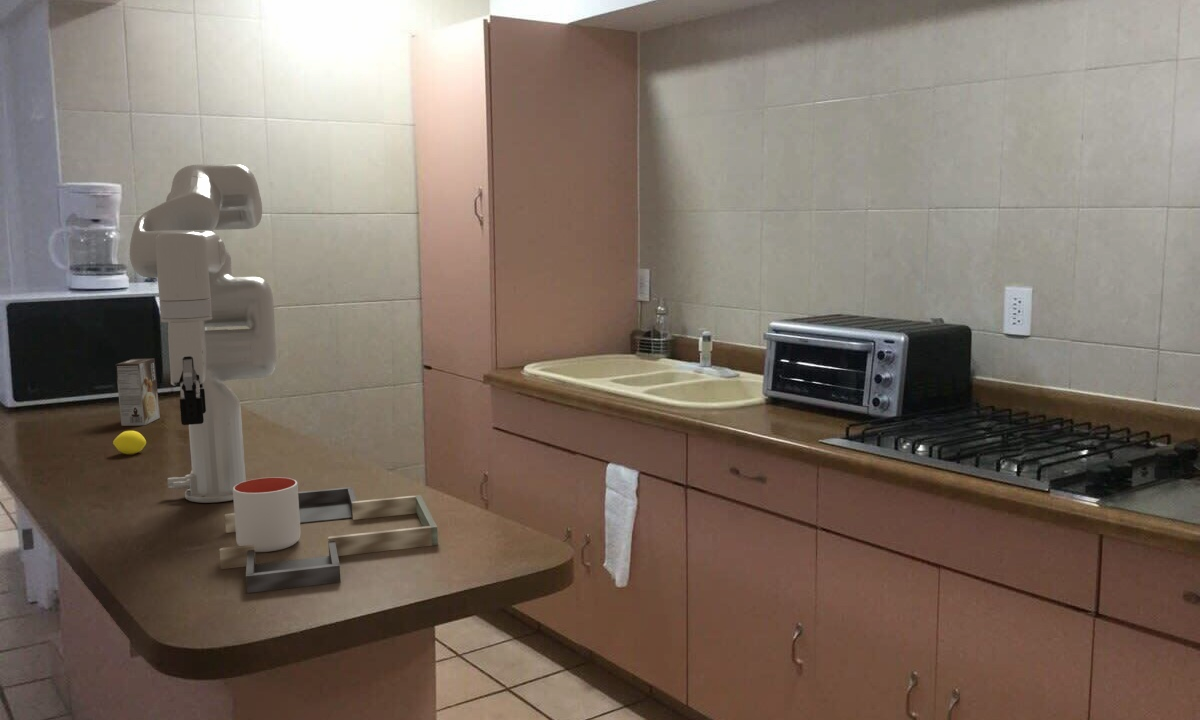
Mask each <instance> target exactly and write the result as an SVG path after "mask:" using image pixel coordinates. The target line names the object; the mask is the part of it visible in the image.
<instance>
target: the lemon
mask: <svg viewBox="0 0 1200 720" xmlns="http://www.w3.org/2000/svg"><path fill="white" fill-rule="evenodd" d="M112 444H113V446H114V447H115V448H116V450H118V452H120V453H122V454H124V455H135V454H138V453H141V451H142V450H143V449H144V448H145V446H146V444H147V440H146V439H145V437H144V436H143V434H141V433H140V432H139V431H136V430H125V431H123V432H121V433H120V434H119V435H117V436H116V437H115V438H114V440H113V441H112Z"/></svg>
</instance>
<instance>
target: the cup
mask: <svg viewBox="0 0 1200 720" xmlns="http://www.w3.org/2000/svg"><path fill="white" fill-rule="evenodd" d="M298 483H299V482H298V481H297V480H296V479H293V478H290V477H280V476H278V477H277V476H275V477H274V476H273V477H261V478H254V479H250V480H246V481H245V482H242V483H239V484H237V485H235V486H234V487H233V500H232V501H233V513H234V515H235V528H236V532H235V539H236V544H237V546H245V545H254V547H255V553H267V552H277V551H281V550H285V549H287V548H289V547H292V546H294V545H295V544H296V543H297V542H298V541H299V539H300V537H301V534H302V533H301V524H300V515H299V499H298V492H299V486H298V485H299V484H298Z"/></svg>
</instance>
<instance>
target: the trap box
mask: <svg viewBox="0 0 1200 720" xmlns="http://www.w3.org/2000/svg"><path fill="white" fill-rule="evenodd" d="M298 499H299V515H300V525H301V524H308V523H310V524H311V523H318V522H319V523H321V522H330V521H338V520H339V521H340V520H348V519H349V520H351V519H352V520H353V521H355V520H365V519H374V518H383V517H385V518H386V517H393V516H403V515H412V514H415V515H417V517H418V520H419V522H420V523H421V526H414V527H408V528H405V527H404V528H398V529H397V528H396V529H387V530H380V531H379V530H378V531H377V530H376V531H368V532H361V533H350V534H343V535H340V534H339V535H331V536H330V535H329V536H327V541H328V543H327V544H328V555H327V556H326V555H324V556H316V557H315V556H314V557H308V558H307V557H306V558H298V559H290V560H282V561H281V560H280V561H272V562H271V561H270V562H263V563H257V562H256V552H255V547H254V545H245V546H239V545H237V546H236V545H235V546H227V547H220V548H219V561H220V562H219V563H220V570H226V569H235V568H243V567H246V569H245V584H246V594H250V593H260V592H268V591H276V590H284V589H293V588H301V587H311V586H318V585H326V584H335V583H336V584H337V583H341V565H340V561H339V560H340V559H339V557H341V556H352V555H360V554H367V553H368V554H369V553H376V552H377V553H378V552H384V551H385V552H387V551H396V550H405V549H414V548H422V547H431V546H438V545H439V539H438V537H439V534H438V525H437V524H436V522H435V520H434V518H433V516H432V514H431V512H430V510H429V508H428V506H427V504H426V503H425V500H424V499H423V497H422V495H421V494H417V495H406V496H398V497H397V496H396V497H386V498H385V497H384V498H376V499H366V500H358V499H357V496H356V493H355V489H354V487H353V486H348V487H338V488H337V487H336V488H325V489H316V490H305V491H304V490H303V491H298ZM224 522H225V524H224V525H225V533H226V534H227V533H236V528H235V515H234V512H231V513H225V514H224Z"/></svg>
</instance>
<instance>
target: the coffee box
mask: <svg viewBox="0 0 1200 720" xmlns="http://www.w3.org/2000/svg"><path fill="white" fill-rule="evenodd" d="M115 372H116V383H117V392H118V394H117V395H118V403H119V404H118V405H119V415H120V425H121V426H124V427H125V426H126V427H127V426H128V427H129V426H132V427H133V426H147V425H148V424H151V423H152V422H154V421H157V420H158V419H160V418H161V415H160V406H159V405H160V404H159V393H158V383H157V382H158V381H157V371H156V360H155V358H131V359H129V360H125V361H122V362H118V363H116V364H115Z"/></svg>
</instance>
